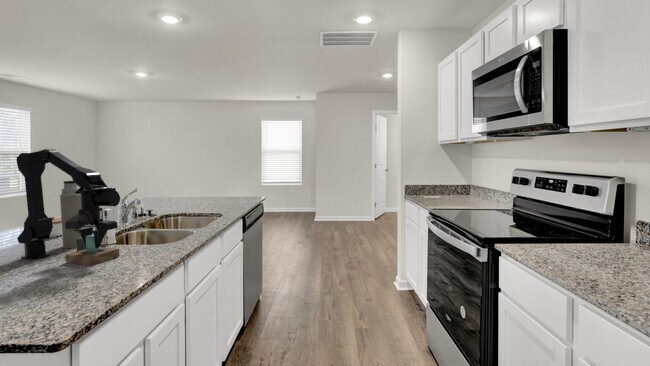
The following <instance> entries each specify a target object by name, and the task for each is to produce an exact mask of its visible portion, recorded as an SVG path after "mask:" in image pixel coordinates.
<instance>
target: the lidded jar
mask: <svg viewBox="0 0 650 366" xmlns="http://www.w3.org/2000/svg"><path fill="white" fill-rule="evenodd" d="M51 218H52V225H53V228H52V232H51V233H50V237H49V238H57V237H56V236H59V237H61V236H60V235H62V220H61V218H60V217H59V218H55V217H54V216H51Z"/></svg>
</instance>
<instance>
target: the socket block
mask: <svg viewBox="0 0 650 366" xmlns="http://www.w3.org/2000/svg"><path fill="white" fill-rule="evenodd" d="M118 257H120V248H117V247H116V248H113V247H103V246H100V247H99V252H98V253H95V254H87V251H86V249H85V250H81V251H77V250H76V251H74V252H71V253H67V254H65V263H67V264H75V265H85V266H86V265H87V266H94V265H97V264H101V263H103V262H106V261H110V260H112V259H116V258H118Z"/></svg>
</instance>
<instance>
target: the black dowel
mask: <svg viewBox="0 0 650 366" xmlns="http://www.w3.org/2000/svg"><path fill="white" fill-rule="evenodd" d="M75 248H76V252H77V251H81V250H85V249H86V245H85V243H84V241H83V239H82V238H77V239H76V247H75Z"/></svg>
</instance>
